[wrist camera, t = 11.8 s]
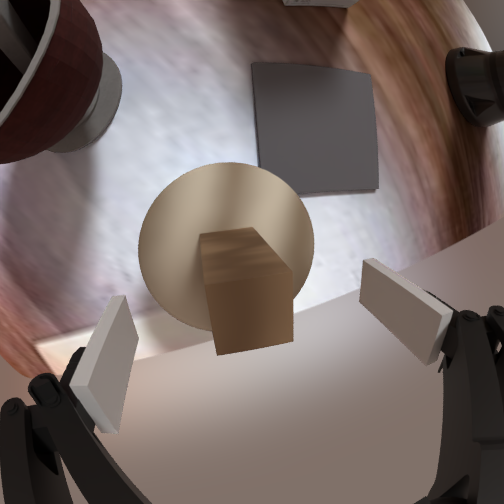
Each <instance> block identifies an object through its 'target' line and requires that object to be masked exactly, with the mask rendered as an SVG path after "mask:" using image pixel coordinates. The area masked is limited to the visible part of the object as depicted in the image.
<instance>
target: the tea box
mask: <svg viewBox="0 0 504 504" xmlns="http://www.w3.org/2000/svg"><path fill="white" fill-rule="evenodd" d="M358 1H359V0H283V3H284V5H285V6H297V5H302V6H328V7H342V8H348V7H351V6H352V5H354V4H355V3H356V2H358Z"/></svg>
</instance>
